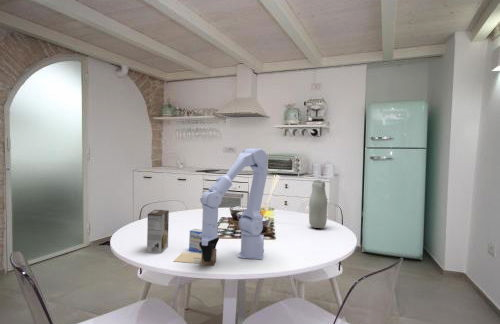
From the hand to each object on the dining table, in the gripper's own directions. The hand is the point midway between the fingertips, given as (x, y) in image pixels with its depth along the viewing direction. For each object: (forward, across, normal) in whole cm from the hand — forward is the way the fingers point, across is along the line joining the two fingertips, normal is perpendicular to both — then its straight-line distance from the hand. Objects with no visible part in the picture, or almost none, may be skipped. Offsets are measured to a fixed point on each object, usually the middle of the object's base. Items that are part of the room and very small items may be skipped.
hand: (208, 259), depth 114 cm
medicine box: (+2, -14, -8) cm, 16 cm away
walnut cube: (+2, 0, 0) cm, 2 cm away
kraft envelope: (+2, -4, -8) cm, 10 cm away
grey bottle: (+2, -67, +47) cm, 82 cm away
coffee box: (+2, -11, -25) cm, 27 cm away
